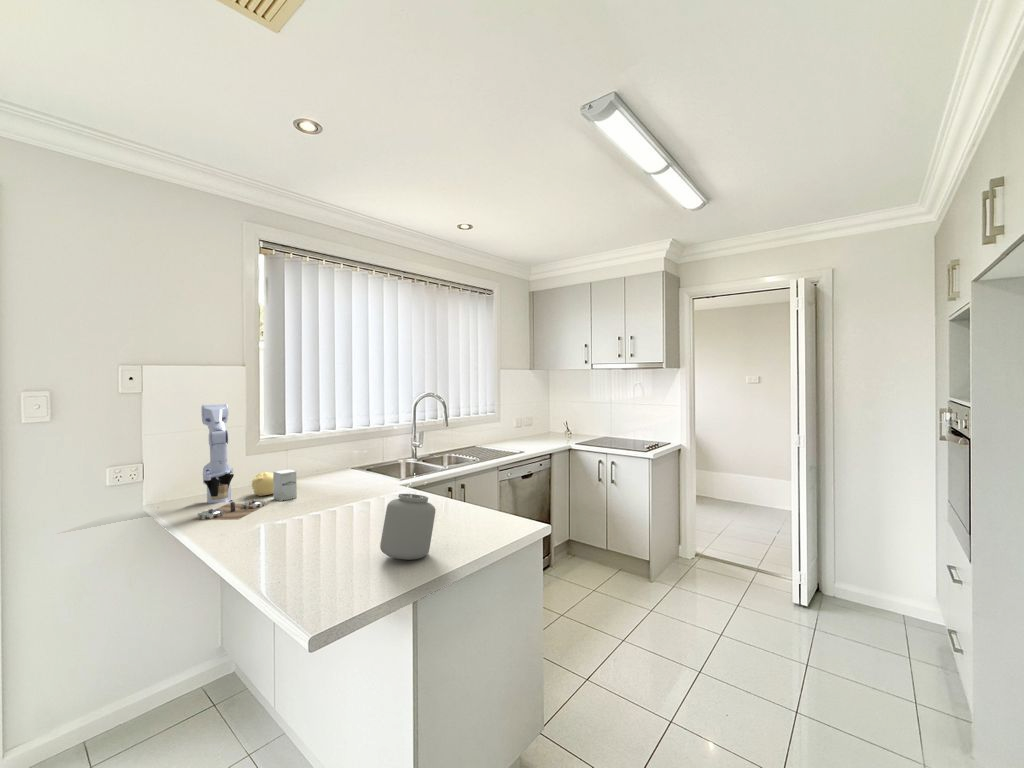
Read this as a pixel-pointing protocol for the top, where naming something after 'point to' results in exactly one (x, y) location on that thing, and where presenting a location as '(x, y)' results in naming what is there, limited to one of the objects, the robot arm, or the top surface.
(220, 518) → the gear board
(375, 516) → the top surface
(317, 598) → the top surface
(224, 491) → the octagonal wooden tube
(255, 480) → the sculpture
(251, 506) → the gear
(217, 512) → the gear
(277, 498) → the supplement box
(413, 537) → the jar
